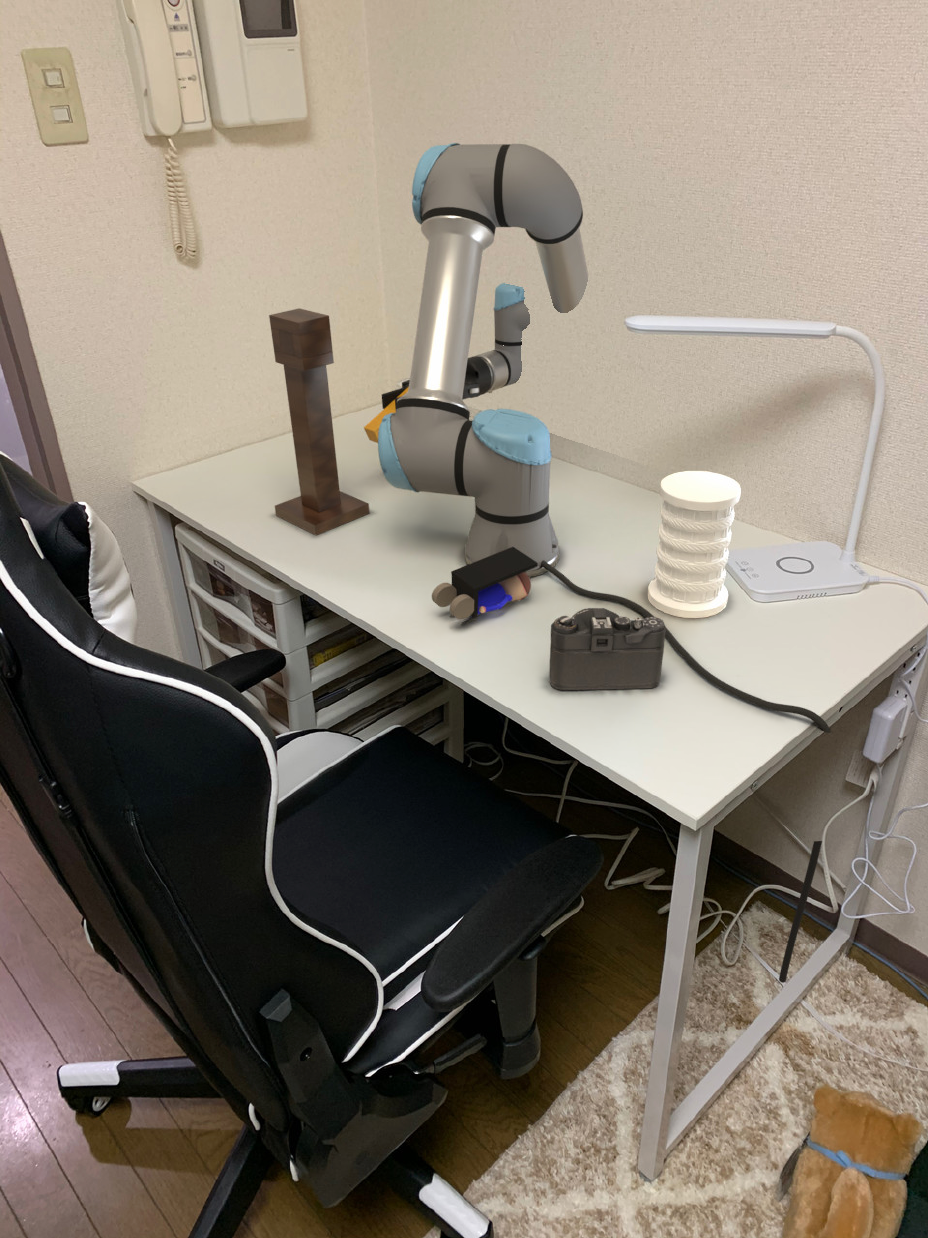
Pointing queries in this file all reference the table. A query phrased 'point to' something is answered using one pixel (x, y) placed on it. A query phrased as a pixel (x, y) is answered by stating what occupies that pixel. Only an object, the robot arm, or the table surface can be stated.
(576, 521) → the table surface
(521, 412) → the robot arm
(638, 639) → the camera
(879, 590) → the table surface
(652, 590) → the decorative container
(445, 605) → the figurine character
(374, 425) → the peg
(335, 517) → the stand
